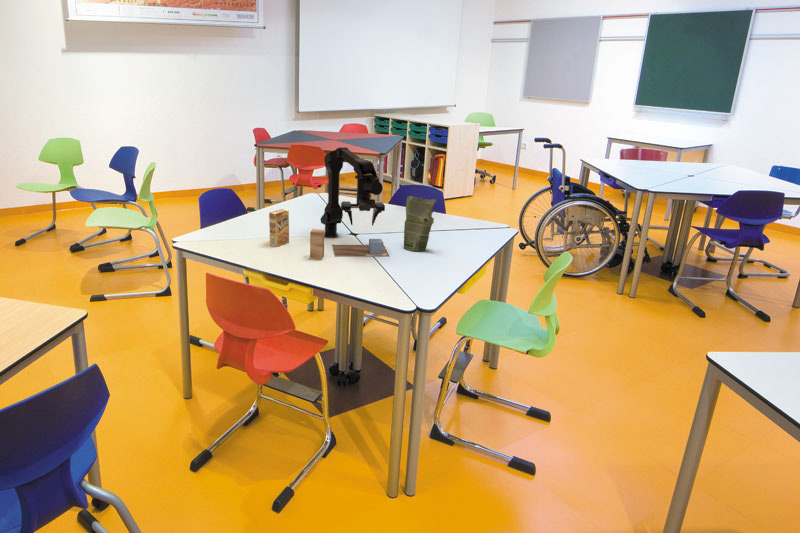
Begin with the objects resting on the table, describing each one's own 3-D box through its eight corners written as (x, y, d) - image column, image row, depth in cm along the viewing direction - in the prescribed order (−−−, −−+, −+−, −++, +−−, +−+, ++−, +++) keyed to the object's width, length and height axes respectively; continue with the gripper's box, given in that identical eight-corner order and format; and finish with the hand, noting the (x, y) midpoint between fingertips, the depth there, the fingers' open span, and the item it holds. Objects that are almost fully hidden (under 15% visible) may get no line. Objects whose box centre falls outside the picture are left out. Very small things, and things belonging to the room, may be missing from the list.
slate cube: (368, 250, 251) (368, 238, 250) (380, 250, 253) (381, 238, 251) (370, 254, 246) (371, 242, 244) (382, 254, 248) (383, 242, 246)
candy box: (276, 247, 250) (276, 213, 245) (269, 245, 252) (268, 212, 247) (289, 242, 257) (289, 210, 252) (282, 241, 259) (282, 208, 254)
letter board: (332, 245, 257) (332, 244, 256) (383, 246, 261) (383, 244, 261) (334, 257, 241) (334, 256, 241) (389, 257, 246) (389, 256, 245)
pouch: (400, 246, 262) (403, 194, 253) (423, 245, 266) (427, 193, 258) (409, 254, 252) (412, 199, 244) (433, 252, 256) (437, 199, 248)
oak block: (312, 255, 242) (312, 228, 238) (324, 256, 242) (324, 229, 238) (310, 259, 238) (310, 231, 234) (321, 259, 238) (322, 232, 234)
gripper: (343, 194, 234) (342, 230, 239) (387, 194, 237) (385, 230, 242) (341, 188, 244) (340, 223, 249) (383, 189, 248) (381, 223, 253)
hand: (362, 225), depth 248 cm, fingers open, 9 cm apart
